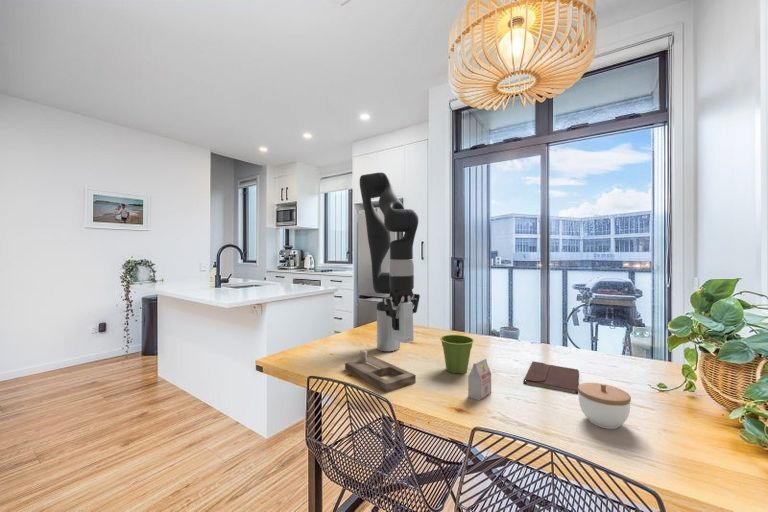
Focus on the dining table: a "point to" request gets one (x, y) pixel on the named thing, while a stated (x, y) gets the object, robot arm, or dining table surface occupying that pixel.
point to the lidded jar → (604, 404)
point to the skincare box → (404, 324)
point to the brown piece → (379, 372)
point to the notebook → (553, 377)
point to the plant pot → (456, 352)
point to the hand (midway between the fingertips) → (401, 328)
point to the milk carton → (479, 380)
